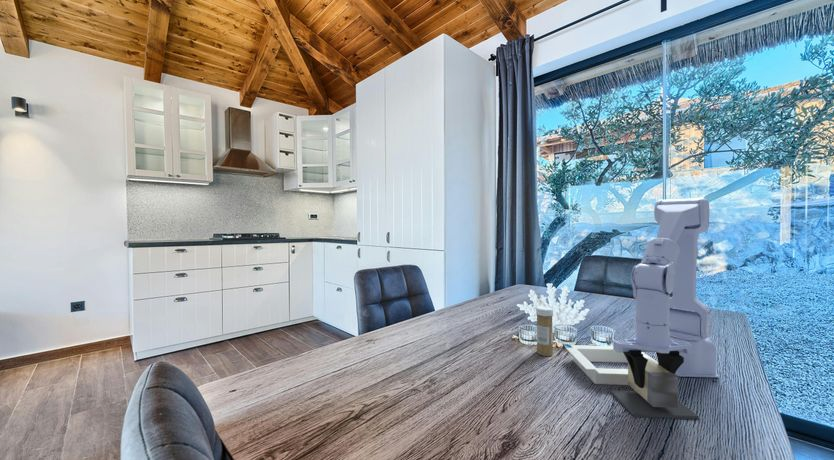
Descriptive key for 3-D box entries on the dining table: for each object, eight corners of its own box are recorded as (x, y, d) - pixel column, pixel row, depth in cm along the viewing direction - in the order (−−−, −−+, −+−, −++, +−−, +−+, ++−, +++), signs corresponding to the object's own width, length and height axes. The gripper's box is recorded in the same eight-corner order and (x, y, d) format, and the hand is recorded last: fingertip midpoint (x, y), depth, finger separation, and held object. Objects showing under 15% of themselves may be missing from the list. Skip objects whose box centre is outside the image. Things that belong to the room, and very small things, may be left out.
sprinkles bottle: (556, 354, 95) (556, 308, 94) (546, 357, 92) (546, 310, 92) (542, 349, 99) (542, 304, 98) (532, 352, 96) (532, 307, 96)
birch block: (649, 384, 73) (649, 357, 73) (677, 407, 64) (678, 376, 64) (627, 384, 73) (627, 357, 73) (653, 406, 64) (653, 376, 64)
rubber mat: (667, 394, 72) (667, 391, 72) (698, 419, 63) (698, 416, 63) (610, 392, 73) (610, 390, 73) (633, 416, 64) (633, 413, 64)
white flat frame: (634, 358, 91) (634, 346, 91) (678, 390, 74) (678, 375, 74) (563, 357, 93) (563, 344, 93) (590, 387, 76) (590, 373, 75)
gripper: (626, 327, 65) (625, 395, 65) (704, 328, 63) (703, 397, 64) (608, 316, 72) (608, 378, 72) (678, 317, 70) (678, 380, 71)
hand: (651, 386), depth 68 cm, fingers closed on birch block, 4 cm apart
